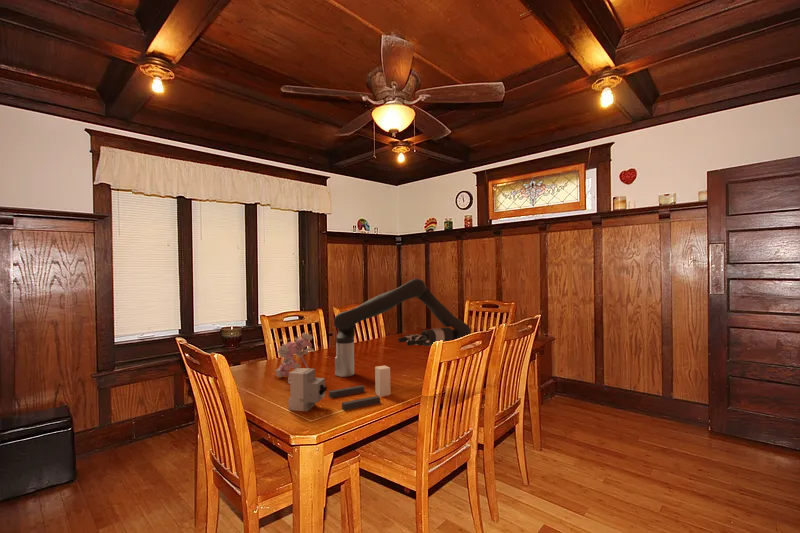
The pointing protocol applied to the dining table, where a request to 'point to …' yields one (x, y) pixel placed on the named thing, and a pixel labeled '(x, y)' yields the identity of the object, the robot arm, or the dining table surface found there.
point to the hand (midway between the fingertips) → (402, 341)
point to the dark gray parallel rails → (354, 403)
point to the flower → (290, 350)
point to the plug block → (382, 380)
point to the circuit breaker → (305, 389)
